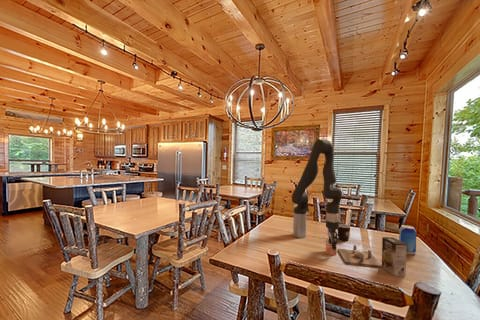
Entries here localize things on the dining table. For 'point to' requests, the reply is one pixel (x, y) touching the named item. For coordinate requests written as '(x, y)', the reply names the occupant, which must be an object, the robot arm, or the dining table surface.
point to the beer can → (408, 238)
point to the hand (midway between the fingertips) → (332, 246)
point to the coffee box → (394, 256)
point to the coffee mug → (343, 232)
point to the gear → (330, 249)
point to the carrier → (359, 257)
